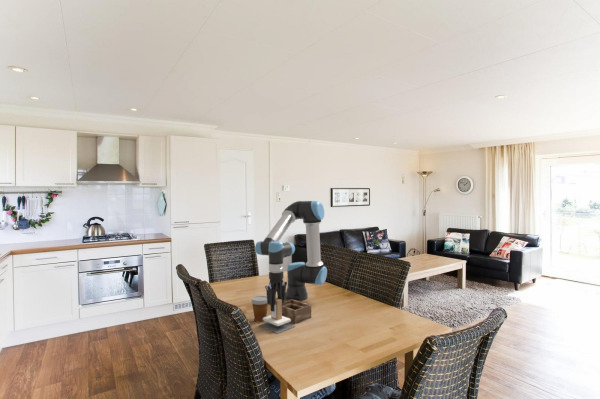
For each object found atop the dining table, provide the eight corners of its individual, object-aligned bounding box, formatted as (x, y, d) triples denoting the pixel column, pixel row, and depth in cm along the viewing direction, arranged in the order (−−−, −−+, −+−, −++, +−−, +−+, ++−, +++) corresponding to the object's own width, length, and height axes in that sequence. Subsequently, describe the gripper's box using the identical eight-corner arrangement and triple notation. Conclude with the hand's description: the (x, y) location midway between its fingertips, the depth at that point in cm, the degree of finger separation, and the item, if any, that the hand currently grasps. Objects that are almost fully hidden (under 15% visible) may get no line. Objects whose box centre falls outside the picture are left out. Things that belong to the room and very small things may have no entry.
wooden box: (275, 316, 187) (275, 304, 187) (292, 310, 196) (291, 299, 196) (295, 324, 176) (295, 310, 176) (311, 317, 185) (311, 305, 185)
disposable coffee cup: (252, 324, 177) (252, 301, 177) (250, 317, 186) (250, 296, 186) (270, 322, 179) (270, 300, 179) (267, 315, 189) (267, 294, 188)
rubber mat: (258, 325, 174) (258, 325, 174) (276, 319, 183) (276, 318, 183) (277, 334, 164) (277, 333, 164) (295, 326, 172) (295, 326, 172)
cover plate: (262, 320, 174) (262, 298, 174) (275, 315, 181) (275, 295, 181) (277, 326, 166) (277, 303, 166) (290, 321, 172) (290, 299, 172)
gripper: (268, 275, 165) (269, 322, 165) (292, 269, 176) (292, 313, 176) (259, 272, 170) (260, 318, 170) (282, 267, 181) (283, 310, 182)
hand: (276, 316), depth 173 cm, fingers closed on cover plate, 3 cm apart
